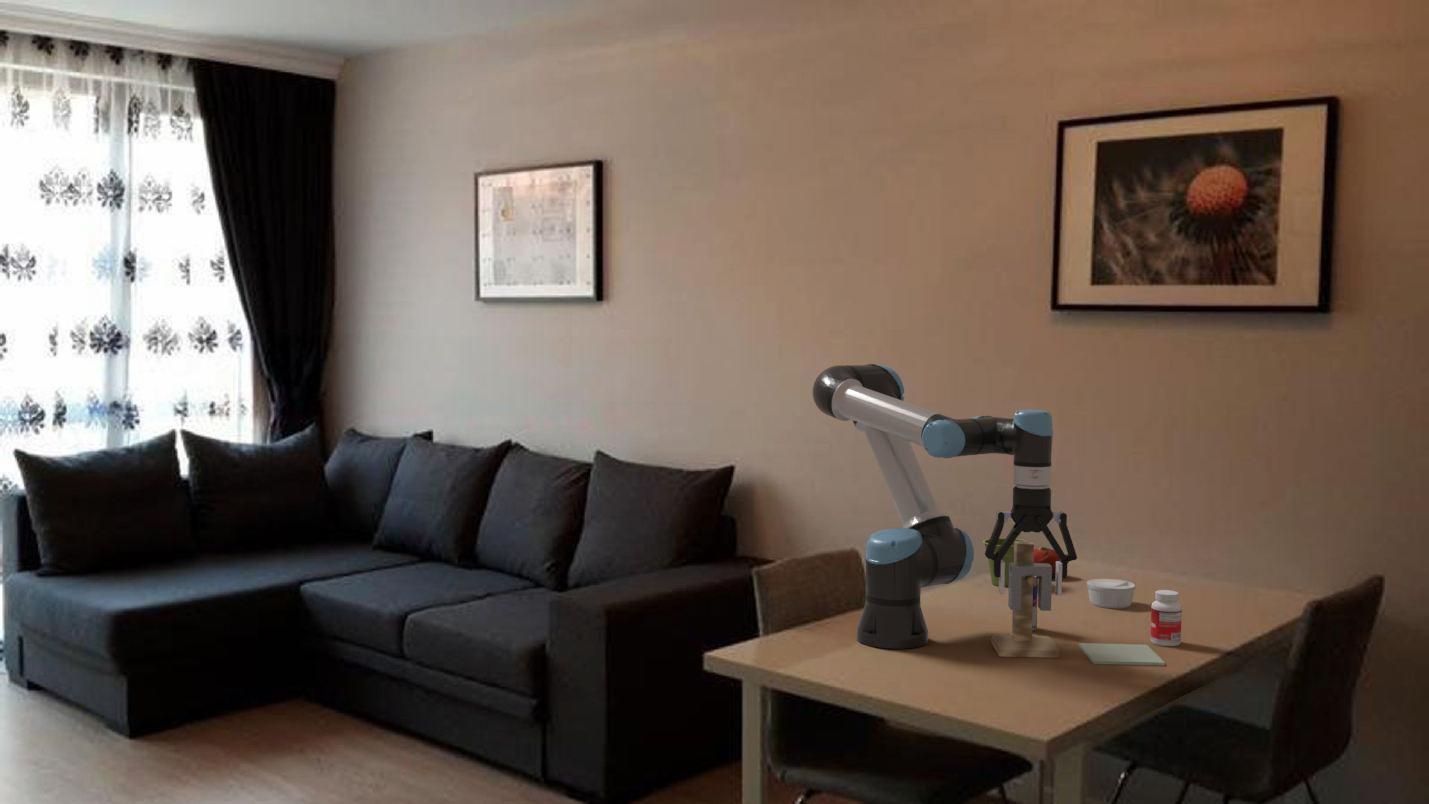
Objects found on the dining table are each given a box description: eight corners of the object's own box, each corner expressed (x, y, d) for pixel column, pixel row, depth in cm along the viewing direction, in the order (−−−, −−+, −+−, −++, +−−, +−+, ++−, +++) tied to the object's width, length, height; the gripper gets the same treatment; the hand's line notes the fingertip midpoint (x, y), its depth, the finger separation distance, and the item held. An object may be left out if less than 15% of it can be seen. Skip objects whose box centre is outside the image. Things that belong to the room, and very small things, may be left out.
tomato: (1040, 572, 348) (1041, 543, 347) (1069, 577, 341) (1070, 547, 340) (1019, 576, 342) (1020, 546, 341) (1048, 581, 335) (1049, 551, 334)
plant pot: (1001, 577, 340) (1001, 536, 339) (1038, 585, 330) (1039, 542, 330) (972, 583, 332) (973, 540, 331) (1009, 591, 323) (1010, 547, 322)
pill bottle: (1151, 638, 276) (1153, 588, 275) (1181, 641, 273) (1183, 590, 272) (1149, 645, 270) (1150, 593, 269) (1179, 648, 268) (1181, 596, 267)
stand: (1001, 660, 258) (1003, 552, 256) (991, 641, 272) (992, 539, 271) (1061, 661, 257) (1064, 553, 255) (1048, 642, 271) (1050, 540, 270)
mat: (1093, 663, 255) (1093, 660, 255) (1078, 645, 269) (1078, 643, 269) (1164, 665, 254) (1165, 662, 254) (1146, 647, 268) (1146, 644, 268)
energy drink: (1037, 632, 280) (1038, 578, 280) (1012, 631, 282) (1013, 577, 281) (1036, 626, 286) (1037, 573, 285) (1011, 625, 287) (1012, 572, 286)
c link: (1010, 609, 259) (1011, 566, 258) (1008, 606, 262) (1009, 562, 262) (1051, 610, 258) (1052, 566, 257) (1047, 606, 262) (1048, 563, 261)
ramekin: (1138, 610, 302) (1139, 588, 302) (1089, 609, 304) (1090, 587, 304) (1130, 600, 313) (1131, 579, 313) (1083, 598, 315) (1084, 577, 315)
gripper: (976, 487, 256) (974, 596, 257) (1094, 489, 254) (1091, 598, 255) (971, 483, 263) (969, 588, 264) (1086, 484, 261) (1083, 590, 263)
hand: (1029, 593), depth 260 cm, fingers open, 11 cm apart
